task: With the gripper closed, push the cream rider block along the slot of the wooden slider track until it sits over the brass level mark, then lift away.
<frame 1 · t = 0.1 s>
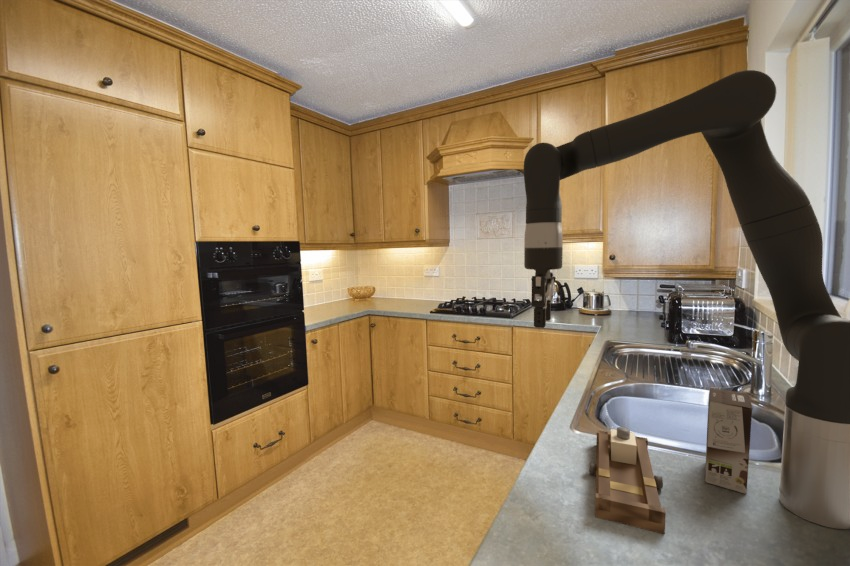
hand: (542, 323, 81), 29 cm above the countertop, fingers open, 8 cm apart
rider: (622, 442, 81), point 4 cm above the countertop, slide at 0.0 cm
coffee box: (725, 478, 76), on the countertop
wooden slider track: (624, 481, 75), on the countertop
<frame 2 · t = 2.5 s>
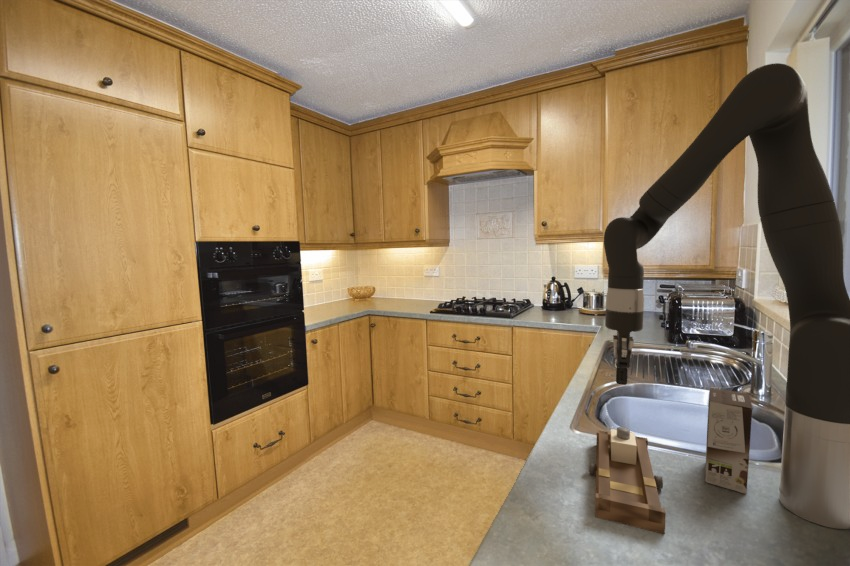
hand: (621, 383, 89), 14 cm above the countertop, fingers closed
nothing on the countertop moved.
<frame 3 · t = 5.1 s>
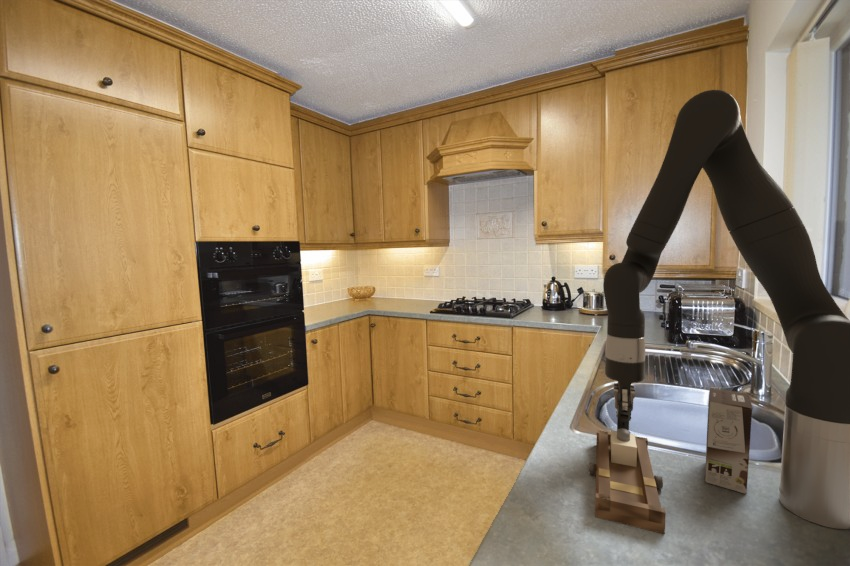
hand: (622, 434, 84), 4 cm above the countertop, fingers closed
rider: (623, 444, 80), point 4 cm above the countertop, slide at 0.8 cm, touching gripper
everything else where it was.
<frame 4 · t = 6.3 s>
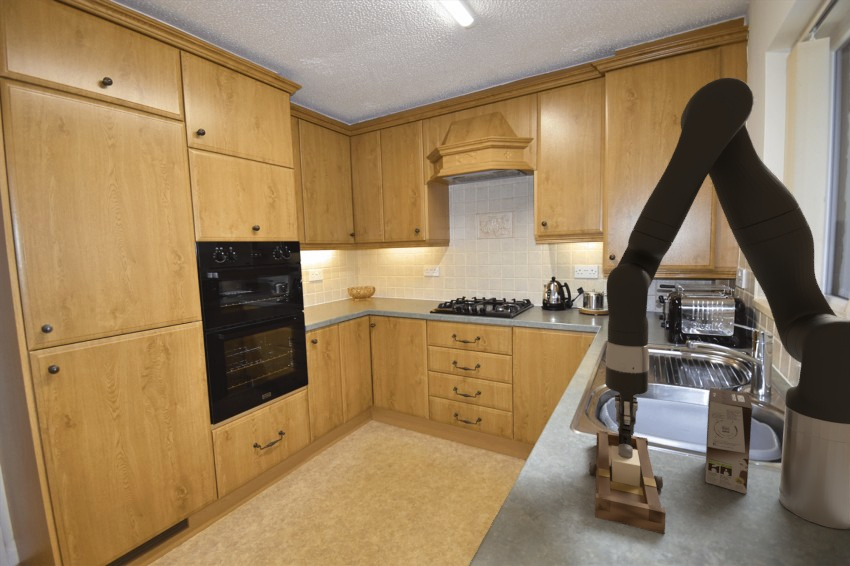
hand: (624, 449, 78), 4 cm above the countertop, fingers closed
rider: (625, 461, 74), point 4 cm above the countertop, slide at 7.7 cm, touching gripper
everything else where it was.
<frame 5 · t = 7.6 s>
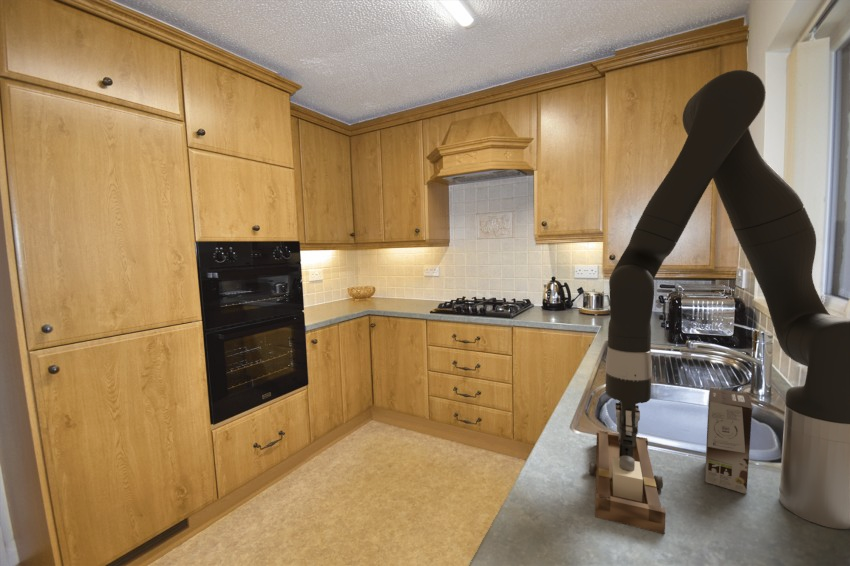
hand: (625, 461, 74), 4 cm above the countertop, fingers closed
rider: (626, 474, 70), point 4 cm above the countertop, slide at 12.3 cm, touching gripper
everything else where it was.
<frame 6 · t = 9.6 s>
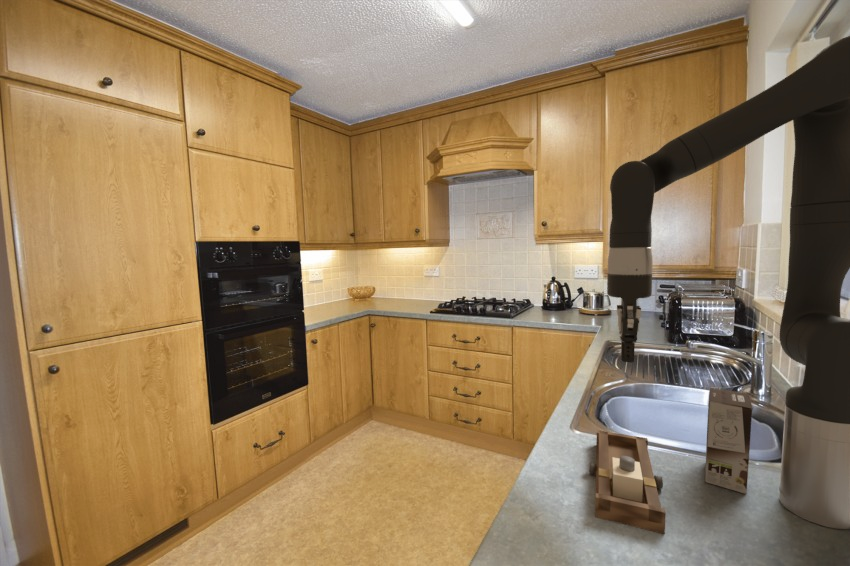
hand: (627, 360, 75), 23 cm above the countertop, fingers closed
rider: (626, 474, 70), point 4 cm above the countertop, slide at 12.4 cm
everything else where it was.
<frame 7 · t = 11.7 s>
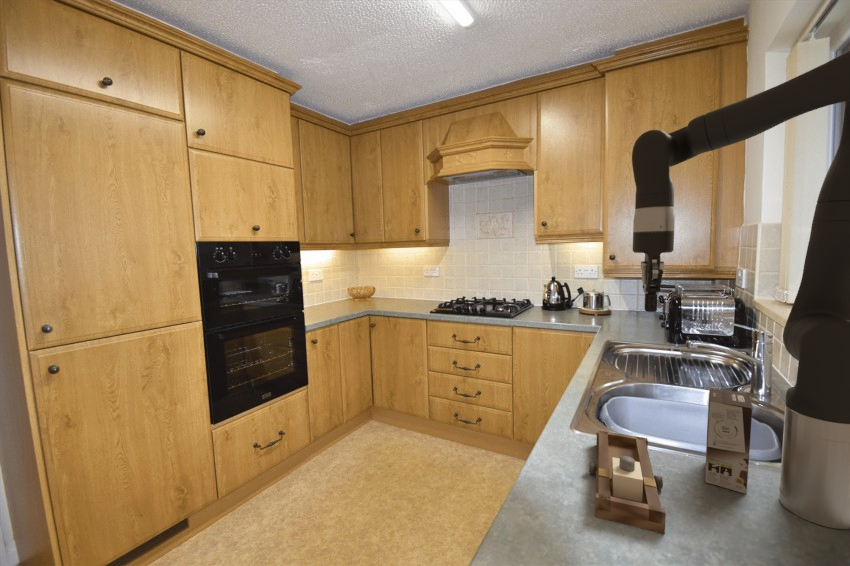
hand: (650, 311, 84), 31 cm above the countertop, fingers closed
nothing on the countertop moved.
at the end: rider slide at 12.4 cm; the gripper is holding nothing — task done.
